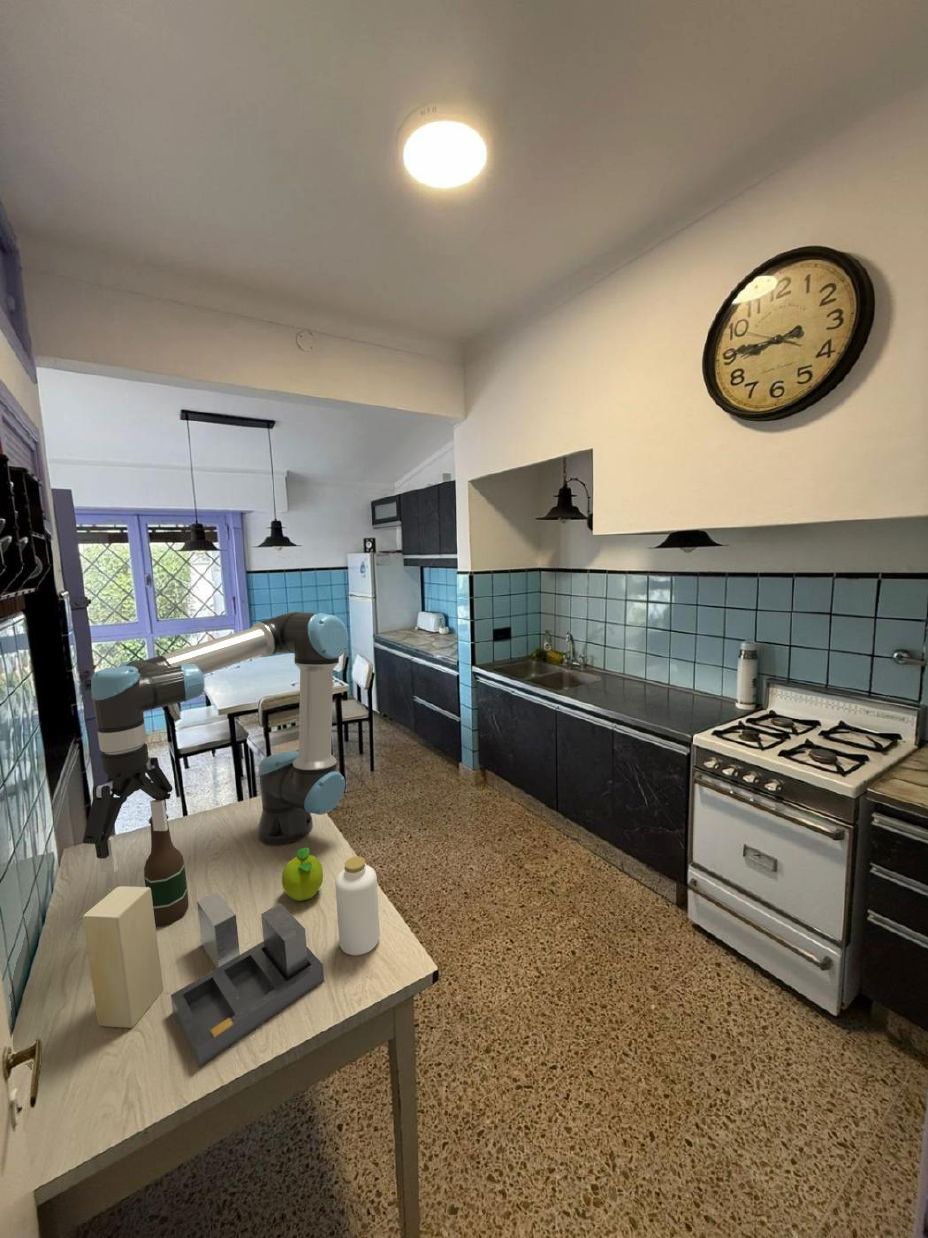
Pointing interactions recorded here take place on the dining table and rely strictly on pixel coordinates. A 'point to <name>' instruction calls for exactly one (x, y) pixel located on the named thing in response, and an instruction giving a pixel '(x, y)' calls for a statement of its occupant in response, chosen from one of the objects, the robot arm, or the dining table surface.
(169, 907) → the beer bottle
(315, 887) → the fruit
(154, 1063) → the dining table surface
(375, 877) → the potion bottle
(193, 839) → the dining table surface
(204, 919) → the silver rectangular block
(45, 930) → the dining table surface
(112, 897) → the cream tall block
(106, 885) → the dining table surface
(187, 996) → the rack
